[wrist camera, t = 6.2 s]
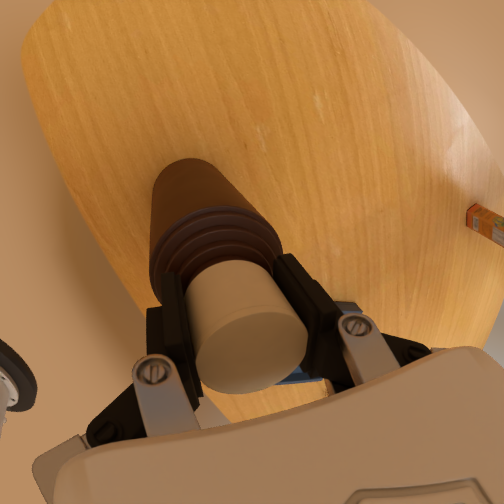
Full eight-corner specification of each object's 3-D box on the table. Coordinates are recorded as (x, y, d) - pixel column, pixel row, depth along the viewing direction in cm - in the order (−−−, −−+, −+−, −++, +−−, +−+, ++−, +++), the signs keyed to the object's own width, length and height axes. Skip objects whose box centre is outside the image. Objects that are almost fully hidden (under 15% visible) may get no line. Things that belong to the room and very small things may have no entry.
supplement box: (476, 201, 37) (523, 226, 28) (476, 218, 39) (520, 244, 30) (466, 209, 37) (514, 236, 28) (465, 227, 38) (510, 255, 30)
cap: (292, 276, 12) (331, 324, 9) (249, 343, 13) (273, 397, 10) (207, 245, 10) (227, 297, 8) (169, 325, 11) (178, 387, 9)
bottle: (215, 234, 27) (296, 398, 12) (146, 223, 25) (145, 403, 9) (234, 167, 25) (364, 274, 9) (161, 151, 22) (165, 247, 7)
